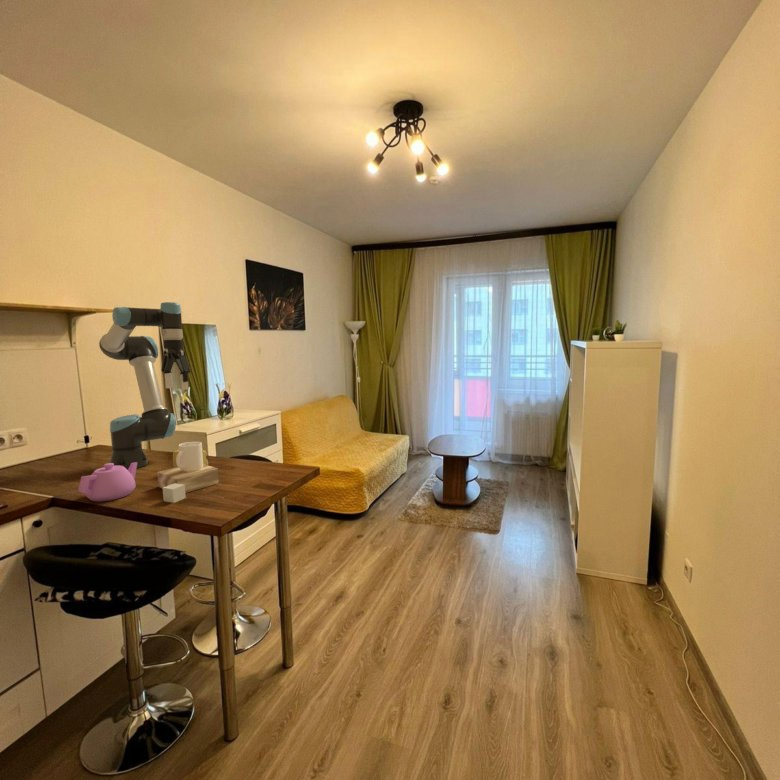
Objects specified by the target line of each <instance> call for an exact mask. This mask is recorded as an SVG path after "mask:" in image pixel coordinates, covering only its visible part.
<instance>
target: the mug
mask: <svg viewBox="0 0 780 780" xmlns="http://www.w3.org/2000/svg"><path fill="white" fill-rule="evenodd" d="M202 444H203V442H201V441H187V442H182V443H179V444H178V450H179V453H178V454H177V457H176V464H177V466H178V468H180V469H181V471H183V472H193V471H197V470H200V469H202V468H203V455H202V449H203V445H202Z"/></svg>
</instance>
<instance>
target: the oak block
mask: <svg viewBox="0 0 780 780" xmlns="http://www.w3.org/2000/svg"><path fill="white" fill-rule="evenodd" d="M156 473H157V486H158V488H160V489H162V490H163V487H166V486H169V485H171V484H174V483H176V484H183V485H185V494H188V493H190V492H194V491H197V490H200V489H203V488H207V487H210V486H213V485H216V484H219V483H220V482H219V481H220V480H219V468H218V467H215V466H211V465H209V464H208V465H204V464H203V468H202V469H200V470H197V471H193V472H183V471H181V469H180V468H178V467H176V468H174V467H172V468H169V469H164V470H161V471H157V472H156Z"/></svg>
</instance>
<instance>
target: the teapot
mask: <svg viewBox="0 0 780 780" xmlns="http://www.w3.org/2000/svg"><path fill="white" fill-rule="evenodd" d="M113 465H114V463H110V462H107V463H104V464H103V467H100V468H97V469H95V470H94V471H93V472H92V474H90V475H81V477H80V481H79V485H78V489H77V491H78V493H80V494H82V495H84V496H86V498H88V500H91V501H92V502H108V501H113V500H118V499H121V498H125V497H126V496H127V497H128V496H129V495H130V494H132V493H133V491H134V490H135V488H136V481H135V479H136V473H137V469H138V468H137V462H134V463H131V465H130V467H129V469H128V470H127V469H126V468H125V467H123V466H113Z"/></svg>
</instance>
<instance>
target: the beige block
mask: <svg viewBox="0 0 780 780" xmlns="http://www.w3.org/2000/svg"><path fill="white" fill-rule="evenodd" d="M162 497H163V502H167V503H173V504H174V503H177V502H179V501H182V500H184V499H186V497H187V496H186V493H185V485H183V484H176V483H174V484H171V485H169V486H166V487H163V489H162Z"/></svg>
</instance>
